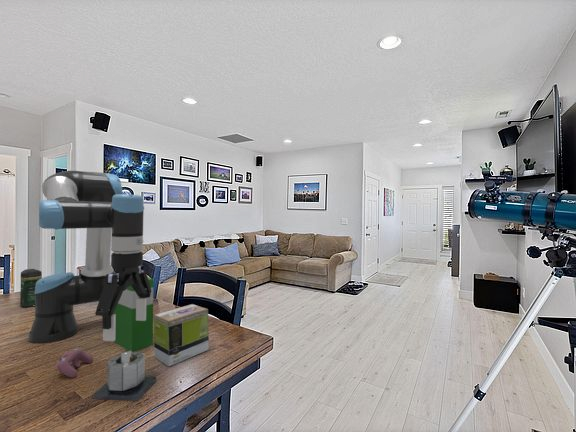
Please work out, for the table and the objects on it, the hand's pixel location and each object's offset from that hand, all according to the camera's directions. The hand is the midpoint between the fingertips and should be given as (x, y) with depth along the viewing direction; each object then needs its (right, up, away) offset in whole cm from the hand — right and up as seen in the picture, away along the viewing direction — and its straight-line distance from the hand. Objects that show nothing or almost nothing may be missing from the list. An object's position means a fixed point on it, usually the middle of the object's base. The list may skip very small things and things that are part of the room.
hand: (126, 329), depth 79 cm
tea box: (+8, -16, +20) cm, 27 cm away
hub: (0, -14, 0) cm, 14 cm away
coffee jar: (-89, -15, +71) cm, 114 cm away
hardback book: (-15, -16, +29) cm, 36 cm away
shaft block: (0, -16, 0) cm, 16 cm away
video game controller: (-21, -16, +9) cm, 28 cm away
